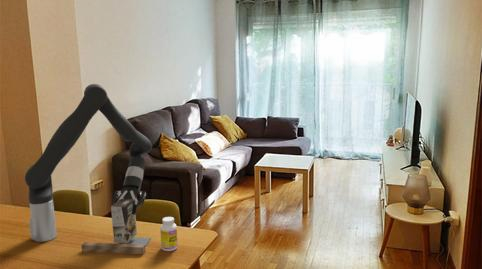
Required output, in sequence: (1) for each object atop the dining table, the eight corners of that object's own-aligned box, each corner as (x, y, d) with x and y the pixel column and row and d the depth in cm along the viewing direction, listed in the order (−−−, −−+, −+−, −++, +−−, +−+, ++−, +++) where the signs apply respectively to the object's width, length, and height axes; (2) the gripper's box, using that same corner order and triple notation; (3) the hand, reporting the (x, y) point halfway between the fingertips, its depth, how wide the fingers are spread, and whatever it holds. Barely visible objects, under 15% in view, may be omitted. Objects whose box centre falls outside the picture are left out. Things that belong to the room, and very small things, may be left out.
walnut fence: (82, 251, 162) (81, 245, 161) (84, 249, 164) (84, 242, 164) (143, 254, 159) (142, 247, 158) (145, 251, 161) (145, 244, 161)
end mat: (121, 249, 163) (121, 248, 163) (130, 238, 173) (130, 237, 173) (142, 250, 162) (142, 249, 162) (150, 239, 172) (150, 238, 172)
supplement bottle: (169, 253, 159) (168, 223, 157) (158, 249, 163) (156, 219, 161) (181, 246, 165) (179, 217, 162) (169, 242, 169) (168, 214, 166)
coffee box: (127, 243, 163) (124, 206, 160) (113, 242, 164) (110, 206, 161) (137, 234, 172) (134, 198, 169) (124, 233, 173) (120, 198, 170)
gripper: (115, 174, 174) (105, 210, 165) (146, 175, 172) (139, 211, 163) (121, 182, 180) (112, 217, 171) (151, 182, 179) (144, 217, 170)
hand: (125, 213), depth 167 cm, fingers closed on coffee box, 6 cm apart
